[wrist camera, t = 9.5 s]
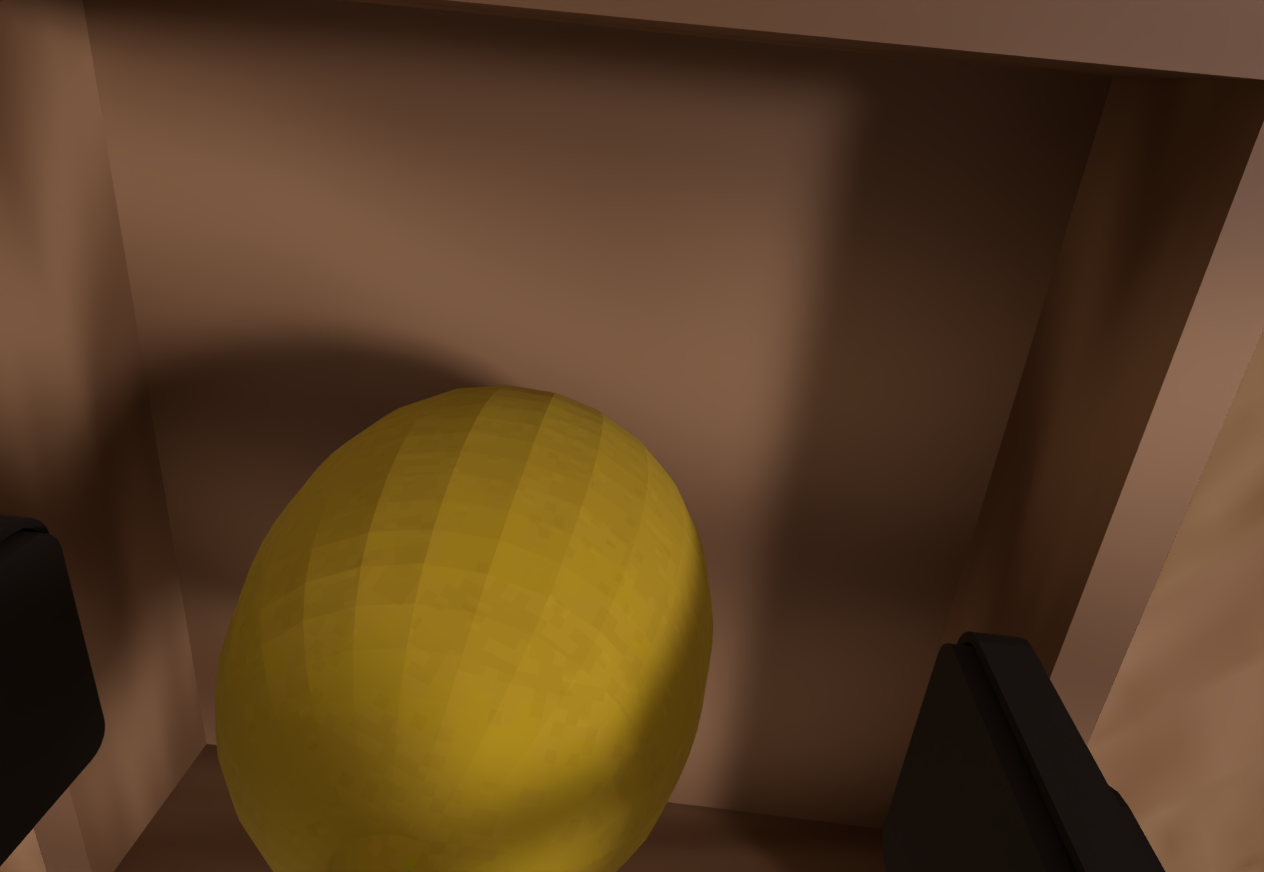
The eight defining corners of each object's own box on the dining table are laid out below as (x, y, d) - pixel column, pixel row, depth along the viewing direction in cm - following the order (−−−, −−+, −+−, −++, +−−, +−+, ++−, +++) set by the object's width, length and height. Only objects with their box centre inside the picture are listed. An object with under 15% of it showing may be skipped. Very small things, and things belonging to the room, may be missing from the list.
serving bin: (41, -91, 11) (-264, -164, 8) (1172, 17, 11) (1405, -7, 7) (190, 746, 18) (60, 918, 14) (906, 836, 17) (961, 1039, 14)
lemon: (336, 529, 15) (-11, 997, 7) (449, 251, 12) (114, 526, 5) (615, 651, 15) (551, 1186, 8) (768, 411, 13) (871, 848, 6)
